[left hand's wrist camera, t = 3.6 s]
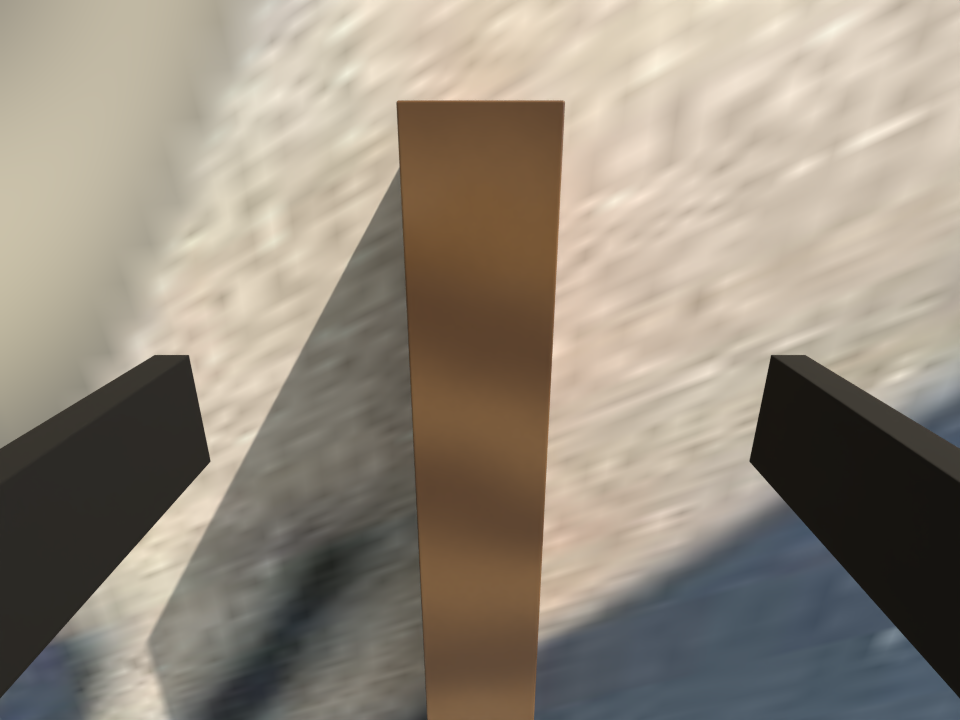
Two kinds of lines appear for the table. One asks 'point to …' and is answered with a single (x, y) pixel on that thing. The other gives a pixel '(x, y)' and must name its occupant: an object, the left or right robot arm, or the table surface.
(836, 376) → the left robot arm
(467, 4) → the table surface
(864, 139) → the table surface
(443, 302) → the bar
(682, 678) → the table surface
